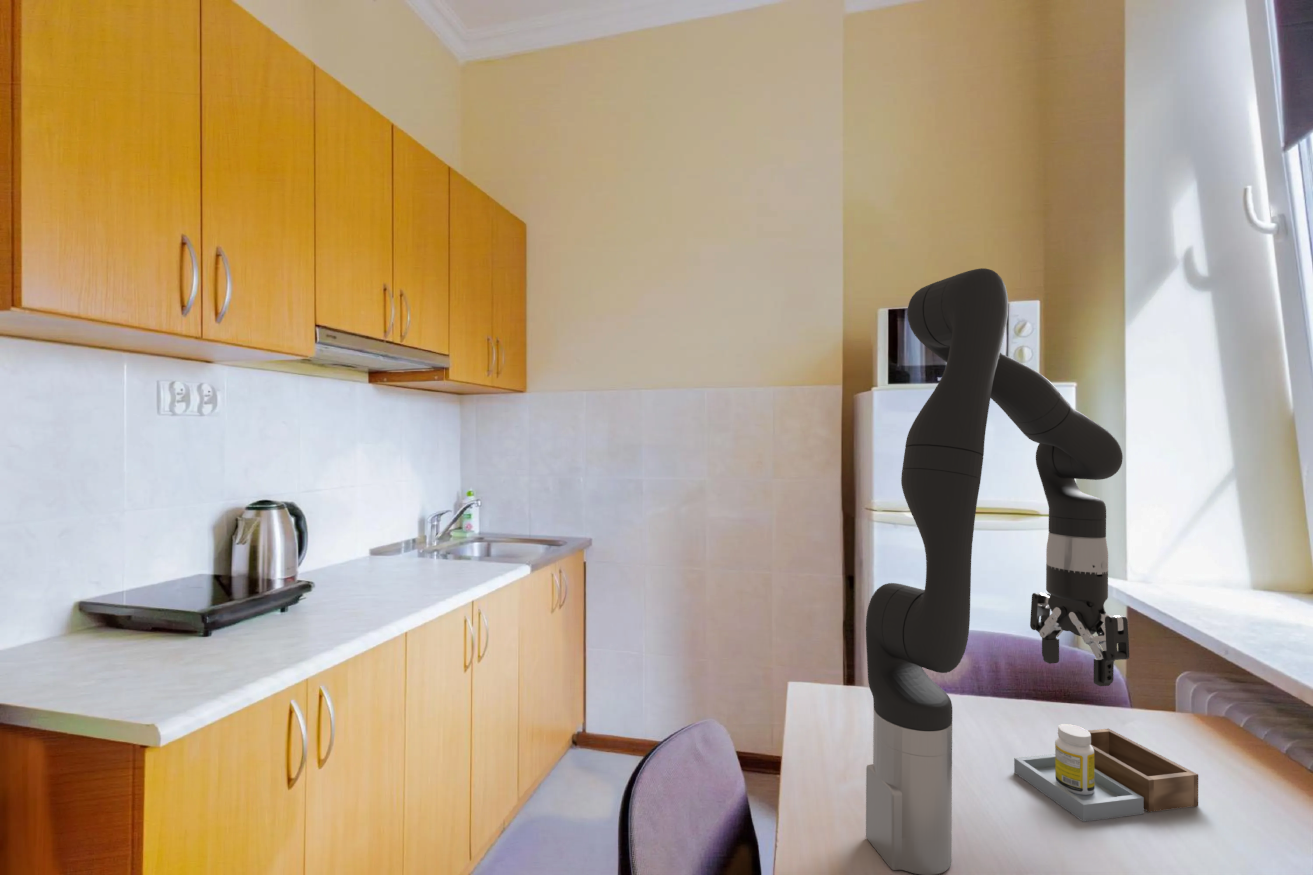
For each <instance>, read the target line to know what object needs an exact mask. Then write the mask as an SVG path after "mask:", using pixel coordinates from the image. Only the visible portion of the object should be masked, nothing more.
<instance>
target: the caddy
mask: <svg viewBox="0 0 1313 875" xmlns="http://www.w3.org/2000/svg"><path fill="white" fill-rule="evenodd" d="M1087 731H1089V732H1090V734H1091V744H1090V745H1091V746H1092V747H1093V749H1094V768H1095V769H1097V770H1098V771H1100V772H1102V773H1103V774H1105V775H1107V776H1108V777H1110V778H1112V779H1113V780H1115V781H1117V782H1118V783H1120V784H1122V785H1123V786H1125V787H1127V788H1128V789H1130V790H1132V791H1133V792H1135V793H1137V794H1138V795H1140V796H1142V797H1143V798H1144V807H1143V810H1145V811H1146V810H1147V812H1148V813H1152V812H1153V813H1154V812H1161V811H1169V810H1177V809H1184V808H1193V807H1199V774H1198V773H1197V772H1194V771H1192V770H1191V769H1188V768H1187V767H1185V766H1182V765H1180V764H1179V763H1177V762H1175V761H1173V760H1170V759H1169V758H1167V757H1166V756H1163V755H1161V754H1159V753H1158V752H1155V751H1153V750H1151V749H1149V748H1148V747H1145V746H1143V745H1142V744H1139V743H1138V742H1135V741H1133V740H1132V739H1130V738H1128V737H1125V736H1124V735H1122V734H1120V733H1118V732H1116V731H1114V730H1112V729H1110V728H1102V729H1101V728H1099V729H1089V730H1087ZM1151 811H1152V812H1151Z"/></svg>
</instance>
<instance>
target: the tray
mask: <svg viewBox="0 0 1313 875" xmlns="http://www.w3.org/2000/svg"><path fill="white" fill-rule="evenodd" d="M1013 764H1014V767H1013V768H1014V769H1013V770H1014V772H1013V773H1014V774H1016V775H1017V776H1019V777H1020V778H1021V779H1022V780H1024V781H1025V782H1027V783H1028V784H1029V785H1031V786H1032V787H1034V788H1035V789H1037V790H1038V791H1040V792H1041V793H1042V794H1044V795H1045V796H1046V797H1048V798H1049V799H1051V800H1052V801H1053V802H1055V803H1057V804H1058V805H1059V806H1061V807H1062V808H1063V809H1065V811H1068V812H1069V813H1070V812H1071V813H1070V814H1072V815H1074V816H1075V817H1076V818H1078V819H1079V820H1080V821H1081V822H1084V823H1085V822H1091V821H1098V820H1099V821H1101V820H1107V819H1112V818H1113V819H1114V818H1121V817H1122V818H1123V817H1129V816H1138V815H1144V809H1143V807H1144V798H1143V797H1142V796H1140V795H1138V794H1137V793H1135V792H1133V791H1132V790H1130V789H1128V788H1127V787H1125V786H1123V785H1122V784H1120V783H1118V782H1117V781H1115V780H1113V779H1112V778H1110V777H1108V776H1107V775H1105V774H1103V773H1102V772H1100V771H1098V770H1097V769H1095V768H1094V779H1095V784H1094V786H1095V790H1094V793H1092V794H1089V795H1080V794H1076V793H1072V792H1070V791H1068V790H1066V789H1065V788H1063V787H1062V786H1060V785H1059V784H1058V783H1057V782H1056V777H1055V776H1056V774H1055V753H1051V754H1039V755H1031V756H1029V755H1028V756H1021V757H1014V763H1013Z"/></svg>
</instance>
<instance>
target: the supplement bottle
mask: <svg viewBox="0 0 1313 875" xmlns="http://www.w3.org/2000/svg"><path fill="white" fill-rule="evenodd" d="M1057 727H1058V728H1057V736H1058V737H1057V738H1056V739H1055V742H1054V745H1055V748H1054V749H1055V751H1054V754H1055V774H1056V776H1055V777H1056V782H1057V783H1058V784H1059V785H1060V786H1062V787H1063V788H1065V789H1066V790H1068V791H1070V792H1072V793H1076V794H1080V795H1089V794H1092V793H1094V790H1095V786H1094V784H1095V779H1094V749H1093V747H1092V746H1091V745H1090V744H1091V734H1090V732H1089V731H1088V730H1087V729H1085V728H1083V727H1081V726H1079V725H1075V724H1070V723H1061V724H1059V725H1058V726H1057Z"/></svg>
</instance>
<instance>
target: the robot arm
mask: <svg viewBox="0 0 1313 875" xmlns="http://www.w3.org/2000/svg"><path fill="white" fill-rule="evenodd" d="M1008 297H1009V296H1008V292H1007V287H1006V284H1005V282H1004V280H1003V278H1002V277H1001V276H1000V274H998V273H997V272H996V271H994V270H992V269H989V268H986V267H985V268H983V267H982V268H975V269H971V270H967V271H964V272H961V273H957V274H955V275H952V276H949V277H947V278H944V279H941V280H938V281H935V282H933V283H931V284H928V285H926V286H923V287H921V288H919V289H918V290H917V291H916V292H915V293H914V294H913V295H912V296H911V298H910V299H909V303H908V307H907V312H906V313H907V315H906V316H907V320H908V321H907V322H908V325H909V327H910V330H911V331H912V333H913V335H914V337H916V339H918V340H919V342H921V344H922V345H923V346H924V347H926V348H927V349H928V350H930V352H932V353H933V354H935V355H936V356H937V357H939V358H940V359H941V360H942V361H944V362H945V363H946V365H945V368H944V371H943V373H942V375H941V378H940V380H939V381H938V384H937V385H936V386H935V389H934V390H933V392H932V393H931V395H930V396H929V397H928V399H927V400H926V402H925V403H924V405H923V406H922V408H921V409H920V411H919V412H918V414H917V415H916V417H915V419H914V420H913V422H912V425H911V427H910V428H909V431H908V433H907V435H906V436H907V437H906V440H905V441H906V442H905V447H904V452H903V453H904V455H903V461H902V462H903V463H902V470H901V478H900V479H901V490H902V492H903V496H904V499H905V502H906V503H907V506H908V509H909V512H910V513H911V515H912V517H913V520H914V522H915V525H916V527H917V528H918V531H919V534H920V537H921V539H922V542H923V546H924V552H925V564H926V565H925V567H926V568H925V570H926V572H925V584H924V585H925V586H924V589H922V588H918V587H914V586H909V585H906V584H903V583H902V584H901V583H895V582H888V583H885V584H882V585H881V586H879V587H877V589H876V590H875V592H874V593H873V595H872V596H871V598H870V600H869V603H868V605H867V606H868V607H867V610H866V611H867V612H866V617H865V619H866V620H865V642H866V643H865V644H866V646H865V647H866V661H867V662H866V663H867V682H868V686H869V689H870V692H871V695H872V698H873V720H872V721H873V728H872V729H873V732H872V733H873V734H872V735H873V737H872V738H873V740H872V742H873V744H872V747H873V750H872V764H867V766H866V768H865V770H866V771H865V772H866V773H865V774H866V775H865V776H866V778H865V780H866V781H865V786H866V787H865V788H866V789H865V838H866V839H867V840H868V841H869V843H870V844H871V846H872V847H873V848H874V849H875V850H876V851H877V853H878V854H879V855H880V857H881V858H882V860H884V861H885V863H886V864H887V865H888V867H889V868H890V869H891V870H893V871H897V870H899V871H905V872H909V873H912V874H916V875H940V874H942V873H945V872H946V871H947V870H949V868H950V866H951V864H952V861H953V860H952V859H953V858H952V857H953V856H952V855H953V854H952V850H953V849H952V846H953V845H952V843H953V842H952V841H953V839H952V838H953V837H952V836H953V834H952V831H953V830H952V829H953V826H952V825H953V822H952V821H953V812H952V810H953V806H952V805H953V802H952V801H953V703H952V700H951V697H950V696H949V694H948V693H947V692H946V691H945V690H944V689H943V688H942V687H941V686H939V685H938V684H937V683H936V682H935V681H934V680H933V679H932V678H931V677H930V676H929V675H928V674H927V672H926V671H925V670H929V671H932V672H936V673H940V674H947V673H950V672H952V671H953V670H954V669H956V668H957V667H958V666H959V664H960V663H961V661H962V659H963V657H964V655H965V652H966V649H967V645H968V641H969V635H970V634H969V633H970V623H971V622H970V621H971V587H972V586H971V583H972V582H971V581H972V552H973V538H974V530H975V521H976V513H977V506H978V497H979V491H980V487H981V486H980V485H981V480H982V471H983V465H984V464H983V463H984V456H985V455H984V454H985V440H986V439H985V438H986V431H987V430H986V429H987V423H988V415H989V408H990V402H991V400H992V401H993V402H994V403H996V405H998V408H1000V409H1001V410H1002V411H1003V412H1004V413H1005V414H1006V415H1007V416H1008V418H1009V419H1010V420H1011V421H1012V422H1013V423H1014V424H1015V425H1016V427H1017V428H1018V429H1019V430H1020V431H1021V432H1022V434H1023V435H1024V436H1025V437H1026V438H1028V440H1030V441H1032V442H1034V443H1036V444H1038V446H1037V447H1036V451H1035V464H1036V468H1037V472H1038V474H1039V478H1040V481H1041V484H1042V485H1041V486H1042V488H1043V492H1044V495H1045V499H1046V502H1047V505H1048V536H1047V541H1046V542H1047V543H1046V549H1045V550H1046V551H1045V552H1046V557H1045V558H1046V562H1045V563H1046V565H1045V572H1046V573H1045V590H1046V591H1047V592H1033V593H1032V594H1031V605H1030V618H1029V619H1030V623H1029V626H1030V629H1031V630H1032V631H1036V632H1037V633H1038V634H1039V636H1040V637H1041V655H1042V658H1043V662H1045V663H1047V664H1049V665H1050V664H1058V663H1059V661H1060V639H1059V638H1058V637H1059V636H1060V635H1061V634H1062V633H1063V632H1071V633H1072V634H1073V635H1076V636H1078V637H1081V639H1082V641H1083V642H1084V643H1085V644H1086V645H1088V646H1089V648H1090V650H1091V651H1092V653H1093V655H1094V658H1093V684H1094V685H1096V686H1099V687H1109V686H1111V684H1112V683H1113V682H1114V672H1115V671H1114V670H1115V669H1114V665H1115V664H1114V662H1115V661H1121V660H1123V661H1125V660H1129V659H1130V645H1129V644H1130V642H1129V641H1130V639H1129V626H1128V625H1129V623H1128V622H1129V621H1128V618H1127V617H1126V616H1125V615H1113V614H1109V613H1107V612H1106V610H1105V607H1104V606H1105V603H1106V601H1107V600H1108V598H1109V550H1108V543H1107V508H1106V507H1107V506H1106V503H1105V501H1104V500H1102V499H1101V498H1099V497H1098V496H1097V497H1096V496H1093V495H1091V494H1088V493H1085V492H1083V491H1081V490H1080V488H1079V487H1078V484H1077V482H1076V480H1077V479H1078V480H1090V481H1091V480H1092V481H1094V480H1095V481H1097V480H1098V481H1100V480H1105V479H1108V478H1109V479H1110V478H1111V477H1113V476H1115V474H1117V472H1119V471H1120V469H1121V466H1122V464H1123V459H1124V458H1123V457H1124V456H1123V450H1122V448H1121V446H1120V443H1119V442H1118V440H1117V439H1116V438H1115V437H1114V435H1113V434H1112V433H1111V432H1110V431H1109V430H1107V429H1106V428H1104V426H1102V425H1100V424H1099V423H1097V422H1095V421H1094V420H1093V419H1091V418H1089V417H1088V416H1087V415H1085V414H1083V413H1082V412H1081V411H1078V410H1077V409H1075V408H1073V407H1072V405H1071V404H1070V403H1069V402H1068V401H1067V399H1066V398H1065V396H1064V395H1063V394H1062V393H1061V392H1060V390H1058V388H1057V386H1055V385H1054V384H1053V383H1052V382H1051V381H1050V380H1049V379H1048V378H1046V377H1045V376H1044V375H1042V373H1040V372H1038V370H1035V369H1033V368H1031V367H1030V366H1028V365H1025V364H1024V363H1022V362H1019V361H1018V360H1016V359H1014V358H1012V357H1010V356H1008V355H1006V354H1004V353H1003V352H1001V349H1002V347H1003V343H1004V342H1003V341H1004V337H1005V333H1006V329H1007V324H1008V316H1009V298H1008ZM1094 634H1096V635H1094ZM924 669H925V670H924Z"/></svg>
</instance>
